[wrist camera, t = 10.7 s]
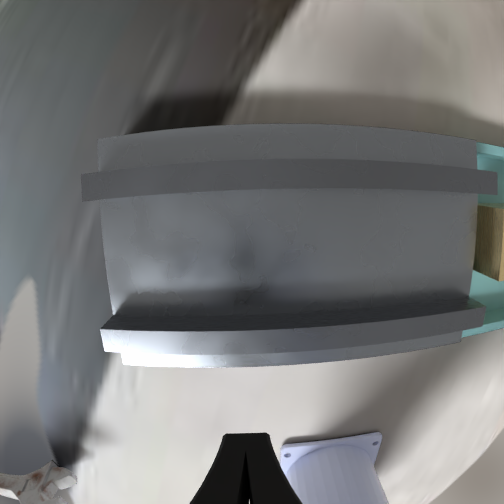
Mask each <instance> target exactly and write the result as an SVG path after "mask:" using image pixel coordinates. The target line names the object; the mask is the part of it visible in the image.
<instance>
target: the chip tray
mask: <svg viewBox="0 0 504 504" xmlns="http://www.w3.org/2000/svg"><path fill="white" fill-rule="evenodd" d="M476 147H477V169H478V170H486V171H493V172H497V174H498V195H488V194H478V203H504V147H499V146H494V145H489V144H484V143H479V142H476ZM469 297H471V298H473V299H475V300H476V301H478V302H480V303H481V304H483V305H485V306H487V307H486V312H485V317H484V322H483V326H482V327H478V328H473V329H468V330H463V332H462V337H467V336H471V335H476V334H480V333H485V332H489V331H493V330H497V329H501V328H504V281H499V282H498V281H496V280H494V279H492V278H490V277H488V276H485V275H483V274H481V273H479V272H476V271H474V270H473V273H472V280H471V288H470V294H469ZM462 337H461V338H462Z"/></svg>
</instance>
